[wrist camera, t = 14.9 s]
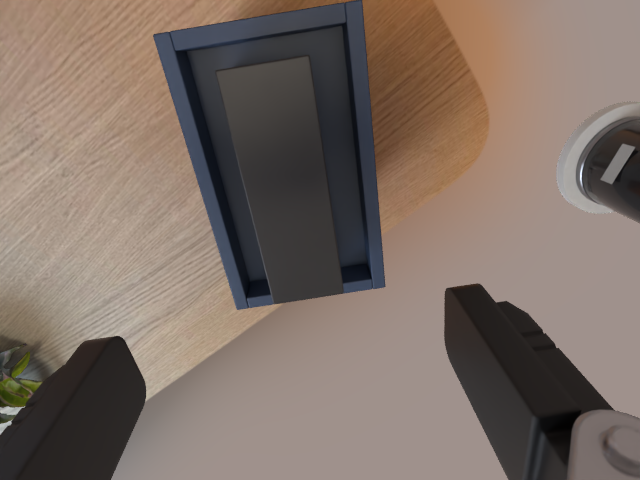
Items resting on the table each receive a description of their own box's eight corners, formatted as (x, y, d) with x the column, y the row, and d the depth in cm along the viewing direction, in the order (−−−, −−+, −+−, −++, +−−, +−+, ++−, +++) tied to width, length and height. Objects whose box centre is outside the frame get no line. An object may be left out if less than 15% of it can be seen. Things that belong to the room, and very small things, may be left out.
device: (231, 68, 19) (214, 70, 15) (307, 55, 19) (309, 54, 15) (277, 264, 25) (273, 305, 21) (336, 255, 25) (344, 293, 20)
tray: (354, 6, 19) (362, -1, 17) (378, 268, 26) (385, 287, 23) (168, 37, 19) (152, 34, 17) (241, 289, 26) (236, 310, 24)
